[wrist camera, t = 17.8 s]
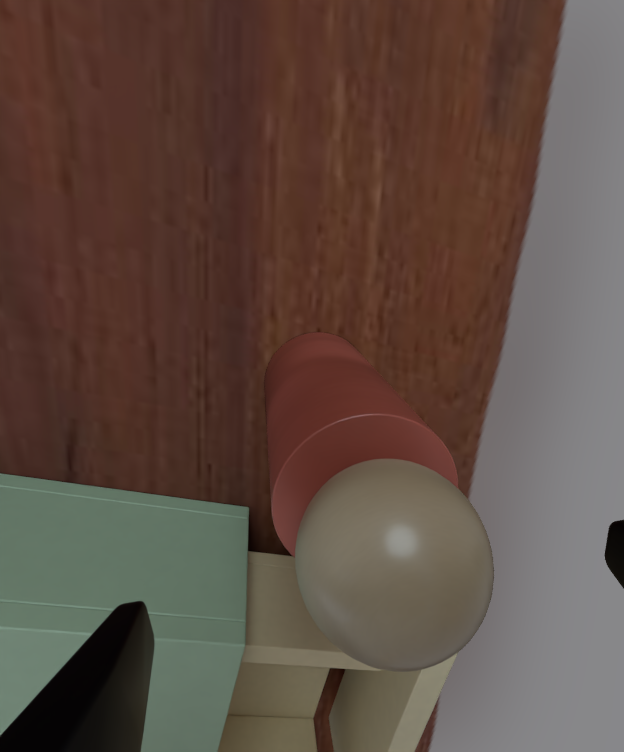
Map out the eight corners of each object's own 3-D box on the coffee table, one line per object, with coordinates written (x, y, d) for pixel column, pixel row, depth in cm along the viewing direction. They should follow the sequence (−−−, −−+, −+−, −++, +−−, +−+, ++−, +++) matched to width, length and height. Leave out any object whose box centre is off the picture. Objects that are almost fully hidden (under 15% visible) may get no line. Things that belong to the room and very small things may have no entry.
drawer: (431, 553, 21) (488, 652, 16) (367, 718, 24) (397, 846, 19) (193, 523, 19) (170, 628, 14) (156, 710, 22) (126, 851, 17)
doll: (294, 447, 19) (356, 780, 7) (244, 363, 18) (222, 610, 6) (383, 401, 19) (592, 665, 7) (340, 312, 18) (516, 462, 6)
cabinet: (249, 506, 20) (245, 645, 13) (203, 701, 23) (180, 893, 17) (-27, 469, 18) (-206, 612, 11) (-34, 690, 21) (-173, 907, 14)
